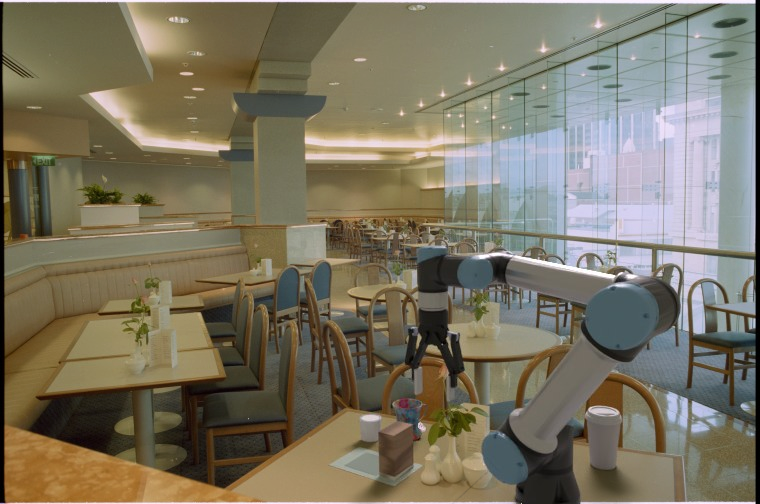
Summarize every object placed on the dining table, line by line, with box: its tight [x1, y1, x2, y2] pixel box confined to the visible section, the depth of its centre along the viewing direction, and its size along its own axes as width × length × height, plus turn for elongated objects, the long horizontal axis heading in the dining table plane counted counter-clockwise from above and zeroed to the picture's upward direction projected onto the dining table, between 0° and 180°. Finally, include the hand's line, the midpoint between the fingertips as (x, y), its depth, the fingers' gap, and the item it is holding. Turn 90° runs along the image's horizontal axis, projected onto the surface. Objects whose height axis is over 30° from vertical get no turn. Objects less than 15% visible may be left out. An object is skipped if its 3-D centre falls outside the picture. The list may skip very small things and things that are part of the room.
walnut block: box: [378, 420, 415, 481], centre depth 157 cm, size 5×9×12 cm, turn 144°
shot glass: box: [358, 413, 382, 443], centre depth 180 cm, size 7×7×7 cm
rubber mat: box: [328, 446, 424, 487], centre depth 162 cm, size 22×14×1 cm, turn 54°
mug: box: [392, 398, 428, 441], centre depth 181 cm, size 12×9×11 cm
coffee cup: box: [584, 405, 623, 471], centre depth 160 cm, size 10×10×15 cm
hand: (434, 396), depth 148 cm, fingers open, 9 cm apart
